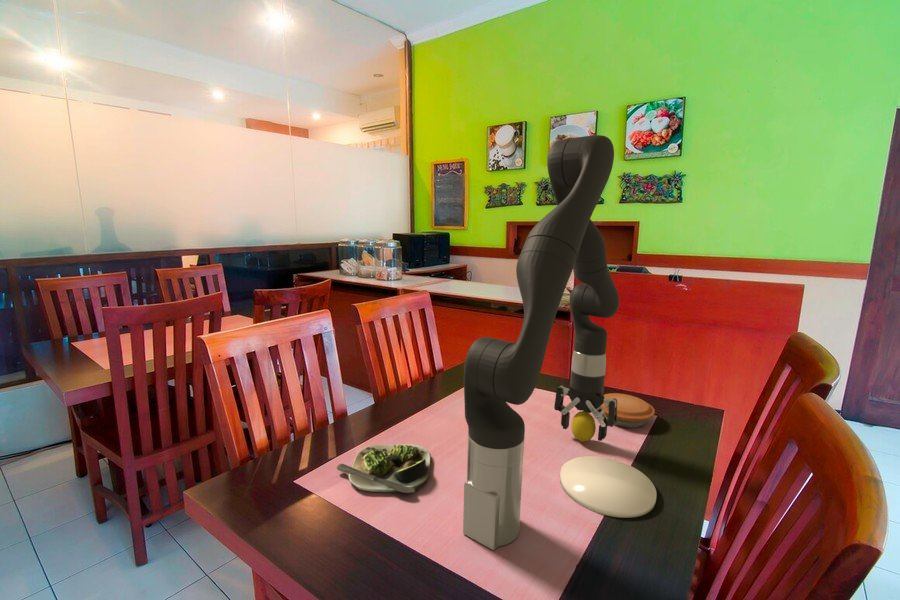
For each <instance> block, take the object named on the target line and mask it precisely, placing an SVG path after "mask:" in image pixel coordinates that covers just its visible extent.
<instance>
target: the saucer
mask: <svg viewBox="0 0 900 600" xmlns="http://www.w3.org/2000/svg"><path fill="white" fill-rule="evenodd" d="M559 475H560V476H559V483H560V485H561V487H562V490H563V491H564V492H565V494H566V495H567V496H568V497H569V498H571V500H573V501H574V502H576V503H577V504H578V505H580V506H582V507H583V508H586V509H587V510H589V511H591V512H594V513H598V514H601V515H604V516H608V517H612V518H620V519H621V518H623V519H625V518H626V519H627V518H632V519H633V518H637V517H642V516H644V515H647V514H648V513H650V512H651V511H652V510H653V509H654V507H655V505H656V502H657V489H656V487H655V485H654V484H653V482H652V481H651V479H650V478H649V477H648V476H646V474H644V473H643V472H642V471H640V470H638V469H637V468H635V467H633V466H631V465H629V464H628V463H625V462H622V461H619V460H616V459H613V458H609V457H605V456H604V457H603V456H596V455H595V456H593V455H587V456H579V457H575V458H572V459H570V460H568V461H566V462H565V463H564V464H563V465H562V467H561V468H560V474H559Z"/></svg>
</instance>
